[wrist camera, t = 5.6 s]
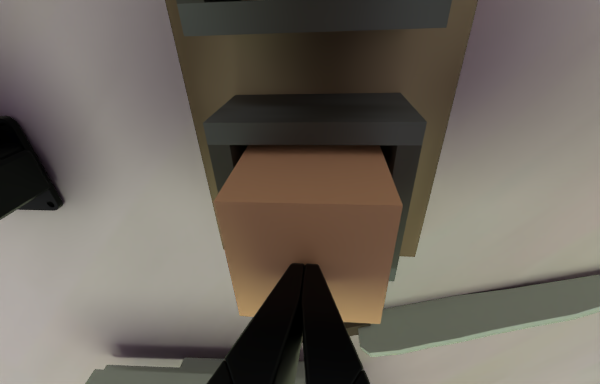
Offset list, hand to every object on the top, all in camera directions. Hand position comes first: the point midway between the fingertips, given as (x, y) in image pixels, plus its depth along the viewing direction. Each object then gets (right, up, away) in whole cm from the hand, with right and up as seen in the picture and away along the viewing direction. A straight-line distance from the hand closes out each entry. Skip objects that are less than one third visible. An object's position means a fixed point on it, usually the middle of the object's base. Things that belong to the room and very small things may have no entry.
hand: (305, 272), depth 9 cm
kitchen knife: (+10, -6, +14) cm, 18 cm away
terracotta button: (0, +2, +3) cm, 4 cm away
